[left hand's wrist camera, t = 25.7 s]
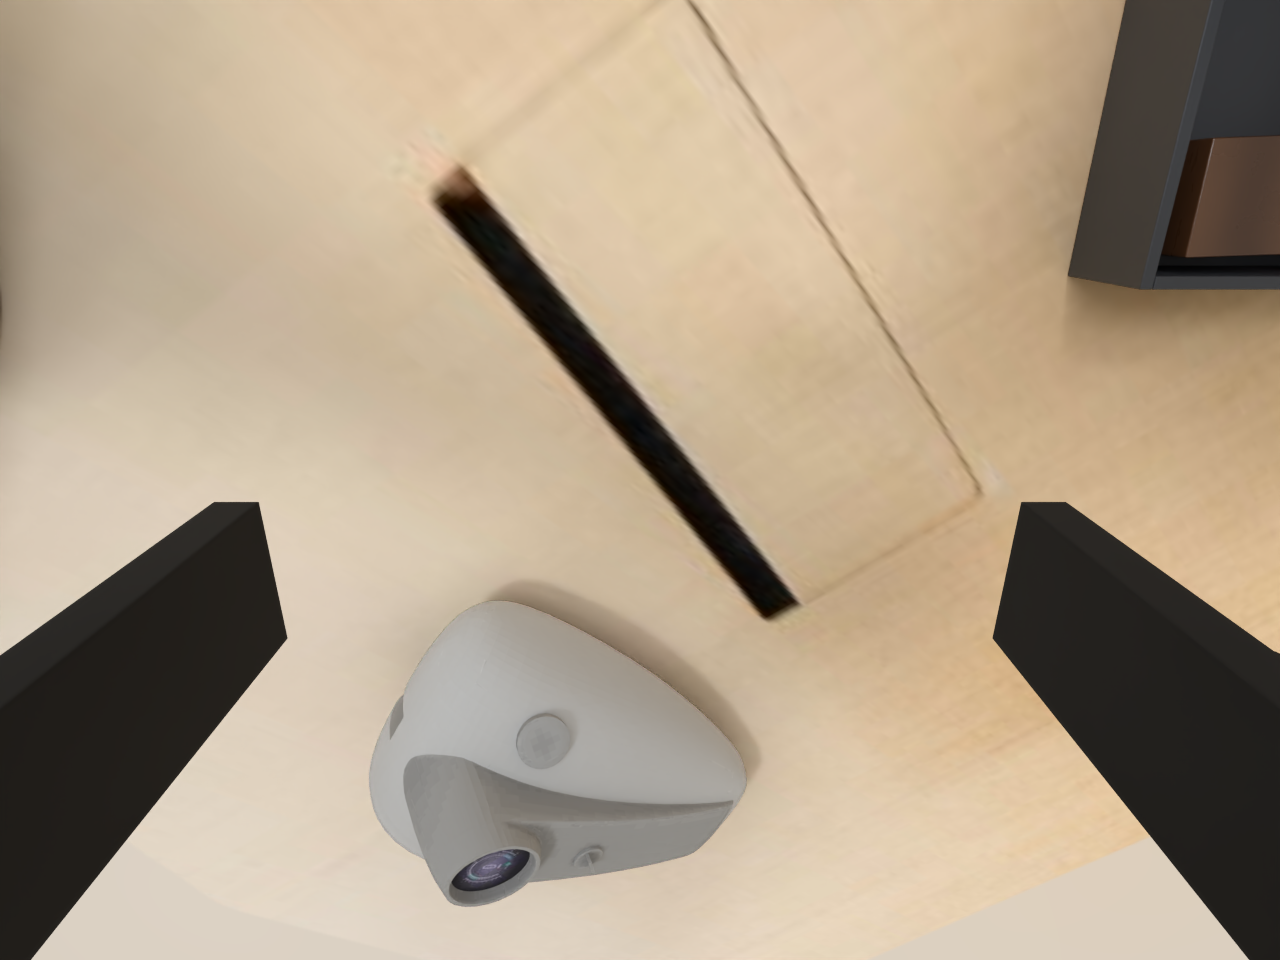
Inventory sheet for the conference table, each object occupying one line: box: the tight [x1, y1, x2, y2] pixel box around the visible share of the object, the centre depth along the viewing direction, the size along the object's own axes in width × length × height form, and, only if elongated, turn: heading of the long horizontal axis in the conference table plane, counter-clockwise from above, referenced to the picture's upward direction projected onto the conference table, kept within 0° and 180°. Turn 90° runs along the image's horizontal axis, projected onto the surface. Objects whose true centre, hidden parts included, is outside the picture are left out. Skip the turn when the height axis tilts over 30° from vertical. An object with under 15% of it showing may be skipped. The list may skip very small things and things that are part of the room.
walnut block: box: [1161, 135, 1280, 258], centre depth 34 cm, size 5×5×5 cm
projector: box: [369, 600, 747, 907], centre depth 42 cm, size 22×23×15 cm
